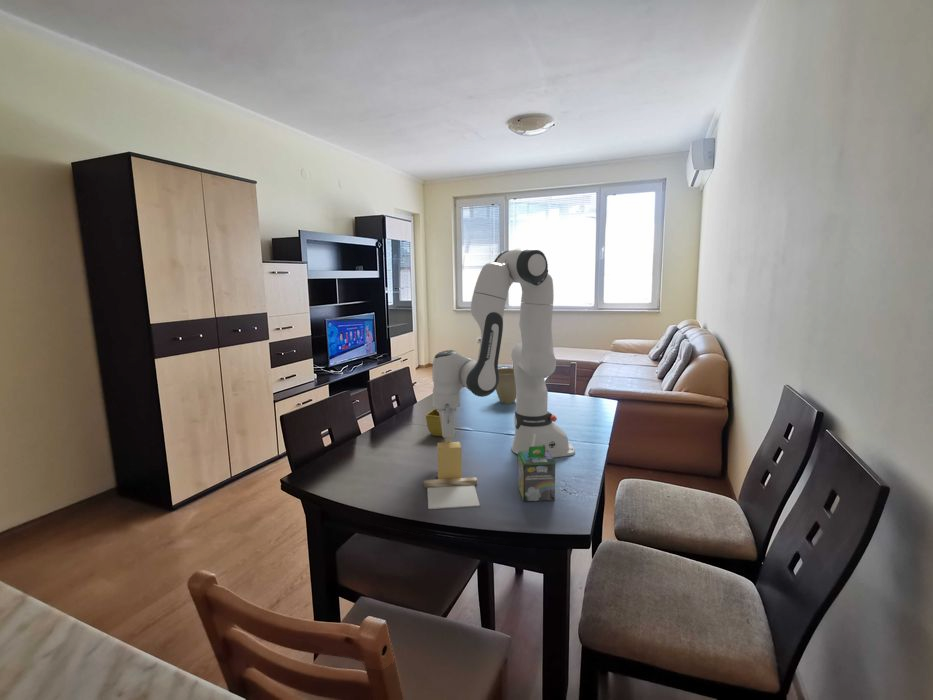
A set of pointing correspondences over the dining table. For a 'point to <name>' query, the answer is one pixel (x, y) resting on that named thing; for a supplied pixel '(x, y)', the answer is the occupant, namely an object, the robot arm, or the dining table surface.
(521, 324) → the robot arm
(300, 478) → the dining table surface
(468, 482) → the beech kerb
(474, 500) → the felt mat
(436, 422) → the flower pot
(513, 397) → the plant pot
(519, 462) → the chalk box
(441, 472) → the ochre block
